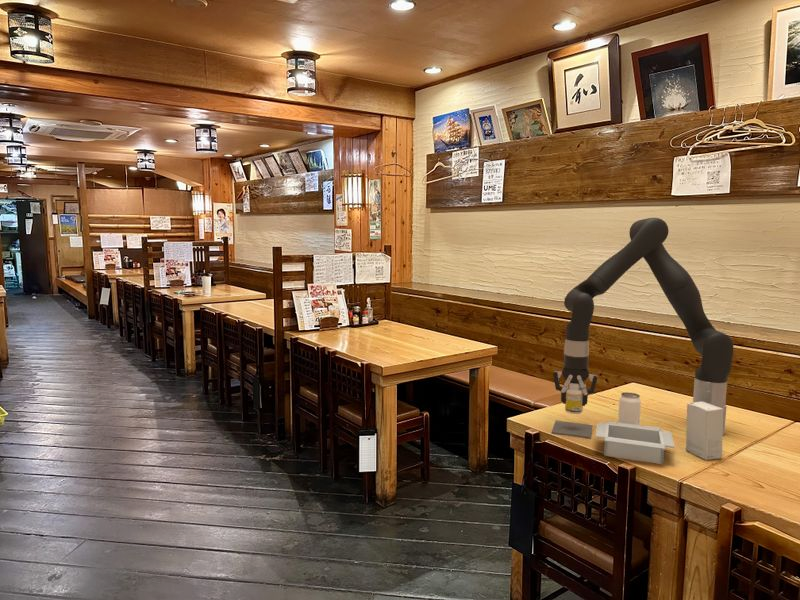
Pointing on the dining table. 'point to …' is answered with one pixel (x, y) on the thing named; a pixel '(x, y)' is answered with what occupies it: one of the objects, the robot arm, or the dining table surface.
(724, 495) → the dining table surface
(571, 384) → the supplement bottle
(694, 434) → the skincare box
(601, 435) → the carton
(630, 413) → the can
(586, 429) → the mat
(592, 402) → the dining table surface
